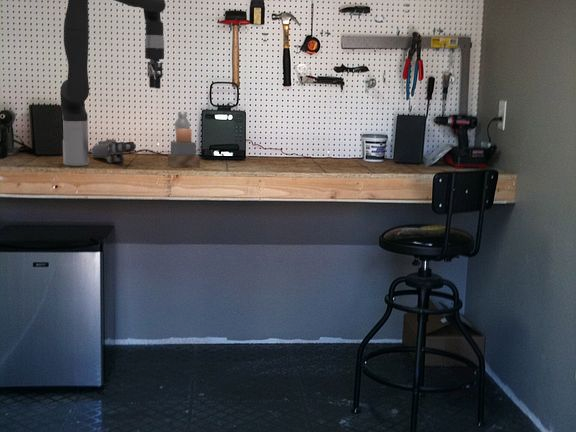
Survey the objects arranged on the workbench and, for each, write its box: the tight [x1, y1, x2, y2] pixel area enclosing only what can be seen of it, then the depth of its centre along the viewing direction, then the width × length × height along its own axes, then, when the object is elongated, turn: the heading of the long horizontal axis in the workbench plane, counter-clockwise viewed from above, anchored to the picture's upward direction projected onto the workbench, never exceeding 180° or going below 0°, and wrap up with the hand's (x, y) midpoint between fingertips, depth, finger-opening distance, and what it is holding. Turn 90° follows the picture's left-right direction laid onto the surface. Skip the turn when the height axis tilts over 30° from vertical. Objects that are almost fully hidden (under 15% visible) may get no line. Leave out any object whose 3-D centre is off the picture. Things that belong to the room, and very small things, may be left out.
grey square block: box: [170, 140, 197, 156], centre depth 302 cm, size 8×8×5 cm
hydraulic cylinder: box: [91, 138, 137, 164], centre depth 310 cm, size 7×37×10 cm, turn 36°
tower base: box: [167, 153, 201, 169], centre depth 303 cm, size 10×10×5 cm
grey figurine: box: [174, 111, 191, 132], centre depth 324 cm, size 6×7×20 cm
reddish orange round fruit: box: [175, 128, 192, 143], centre depth 301 cm, size 6×6×5 cm
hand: (154, 88), depth 308 cm, fingers open, 8 cm apart
